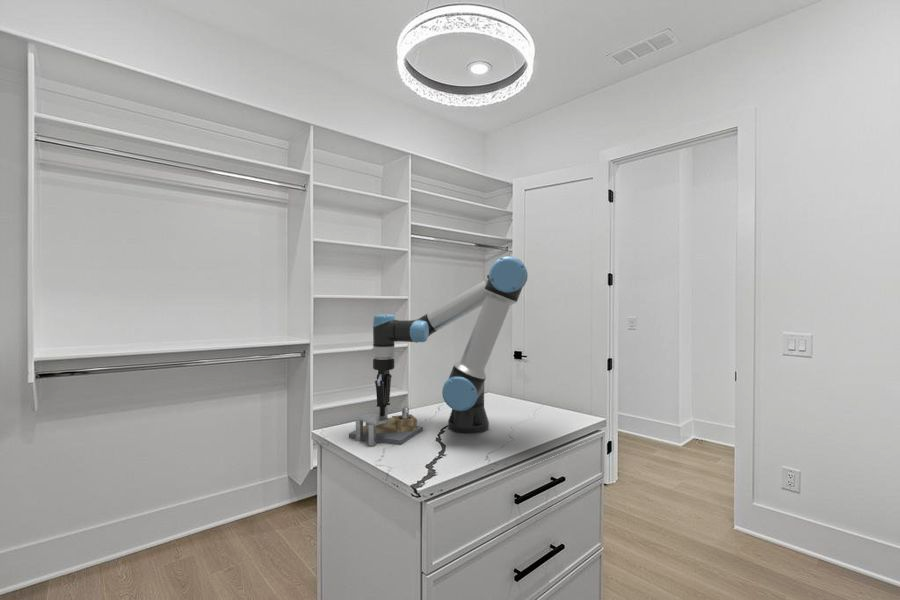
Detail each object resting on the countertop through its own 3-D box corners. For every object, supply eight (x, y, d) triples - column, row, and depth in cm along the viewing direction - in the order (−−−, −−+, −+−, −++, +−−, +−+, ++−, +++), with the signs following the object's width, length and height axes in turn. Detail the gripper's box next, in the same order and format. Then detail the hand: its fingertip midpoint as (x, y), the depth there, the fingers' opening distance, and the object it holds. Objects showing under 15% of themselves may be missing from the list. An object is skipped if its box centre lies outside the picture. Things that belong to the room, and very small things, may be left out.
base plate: (422, 430, 160) (422, 426, 160) (401, 444, 144) (401, 440, 144) (374, 424, 167) (374, 420, 167) (348, 437, 151) (348, 433, 151)
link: (410, 425, 161) (410, 414, 161) (416, 430, 155) (417, 419, 155) (364, 430, 155) (364, 418, 155) (368, 436, 148) (368, 424, 148)
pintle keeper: (409, 431, 158) (409, 407, 158) (383, 447, 141) (383, 421, 141) (378, 427, 163) (378, 404, 163) (349, 443, 146) (349, 417, 146)
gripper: (378, 355, 164) (378, 418, 164) (367, 360, 151) (367, 429, 151) (398, 355, 163) (398, 419, 163) (389, 360, 150) (388, 430, 150)
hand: (383, 424), depth 157 cm, fingers closed
